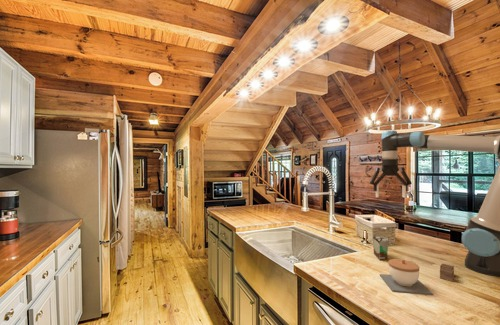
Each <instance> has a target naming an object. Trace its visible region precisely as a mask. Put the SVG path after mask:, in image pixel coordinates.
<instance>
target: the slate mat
mask: <svg viewBox="0 0 500 325" xmlns="http://www.w3.org/2000/svg"><path fill="white" fill-rule="evenodd" d="M379 276H380V277H381V279H382V280H383V282H384V283H385V284H386V285H387V287H388V288H389V289H390V290H391V291H392V292H393V293H402V294H403V293H404V294H405V293H407V294H416V295H418V294H419V295H429V296H433V295H434V292H432V291H431V290H430V289H429V288H428V287H427V286H426V285H424V284H423V283H422V282H421V280H419V279H418V280H417V282H416V283H415V284H413V286H403V285H400V284H398V283H396V282H395V280H394V279H393V278H392V276H391V274H384V273H379Z"/></svg>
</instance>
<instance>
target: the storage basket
mask: <svg viewBox="0 0 500 325" xmlns="http://www.w3.org/2000/svg"><path fill="white" fill-rule="evenodd" d="M368 219H369V220H368ZM354 220H355V228H356V235H357V236H358V237H360V238H361V239H363V230H366V231H367V233H368V239H367V241H368V242H367V241H366V242H367V243H369V244H371V245H372V246H373V235H374V236H381V237H385V238H387V239H388V241H389V245H388V246H394V245H396V230H397V229H396V228H397V223H396V222H395V221H393V220H391V219H388V218H386V217H383V216H382V215H381V216H380V215H377V214H355V215H354Z"/></svg>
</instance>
